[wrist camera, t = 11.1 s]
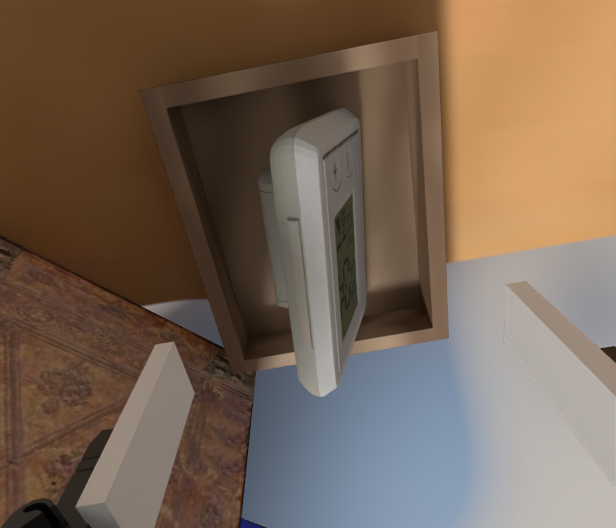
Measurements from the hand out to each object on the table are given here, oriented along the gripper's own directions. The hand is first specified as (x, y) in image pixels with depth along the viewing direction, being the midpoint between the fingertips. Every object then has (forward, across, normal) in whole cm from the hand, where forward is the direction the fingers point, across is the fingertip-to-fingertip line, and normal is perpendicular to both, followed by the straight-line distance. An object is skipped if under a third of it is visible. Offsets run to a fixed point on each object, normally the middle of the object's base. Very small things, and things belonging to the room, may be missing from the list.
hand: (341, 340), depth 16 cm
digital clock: (+16, 0, -1) cm, 16 cm away
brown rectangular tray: (+17, 0, 0) cm, 17 cm away
